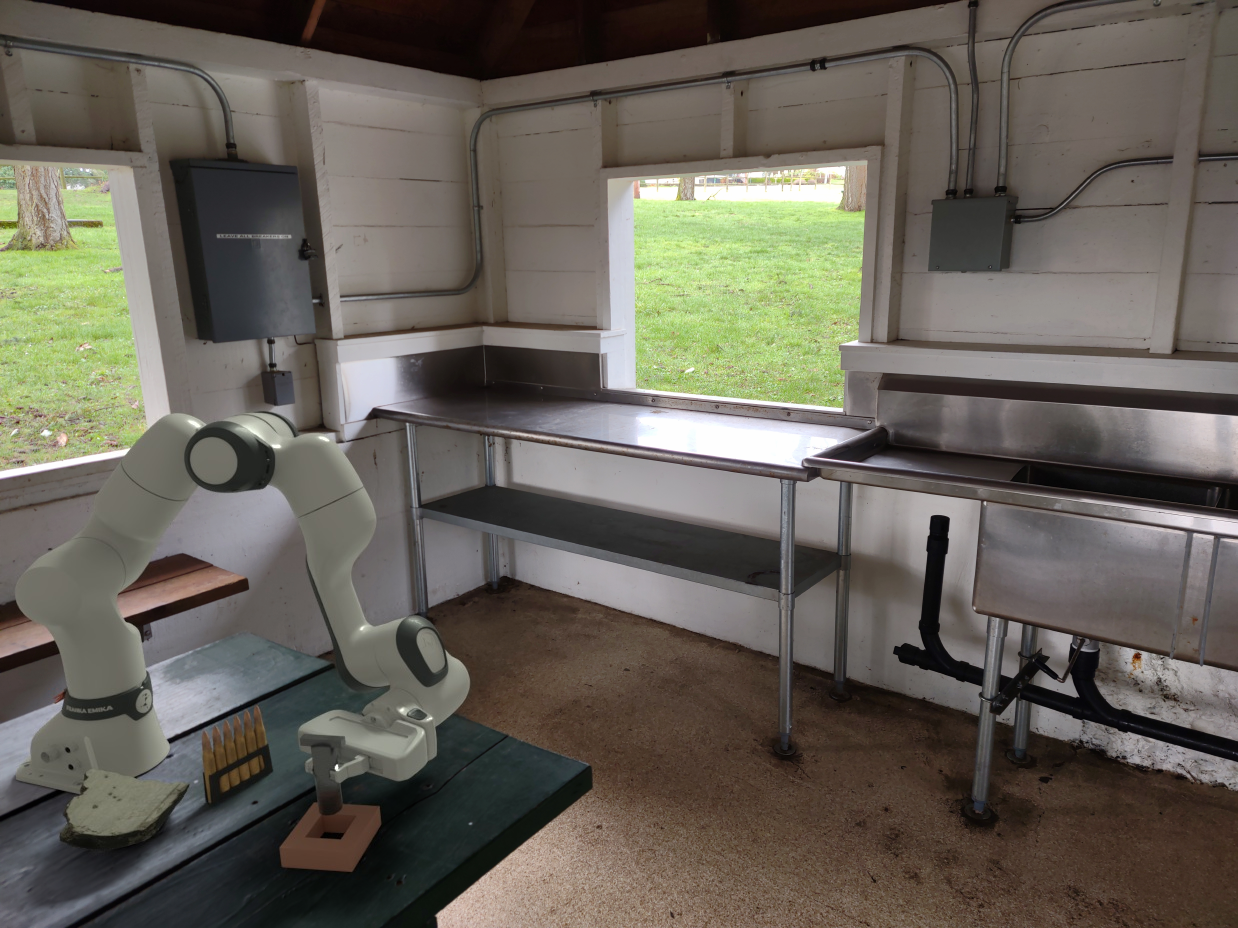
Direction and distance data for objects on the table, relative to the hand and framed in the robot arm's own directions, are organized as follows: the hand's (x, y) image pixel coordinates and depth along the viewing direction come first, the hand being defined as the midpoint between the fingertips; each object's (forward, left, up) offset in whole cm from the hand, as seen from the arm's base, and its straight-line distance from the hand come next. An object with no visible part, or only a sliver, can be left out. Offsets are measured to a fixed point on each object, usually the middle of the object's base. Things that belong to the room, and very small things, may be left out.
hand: (321, 773), depth 116 cm
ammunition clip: (-21, +13, -12) cm, 27 cm away
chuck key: (0, +1, -6) cm, 6 cm away
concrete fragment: (-31, 0, -12) cm, 34 cm away
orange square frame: (0, +1, -12) cm, 12 cm away
